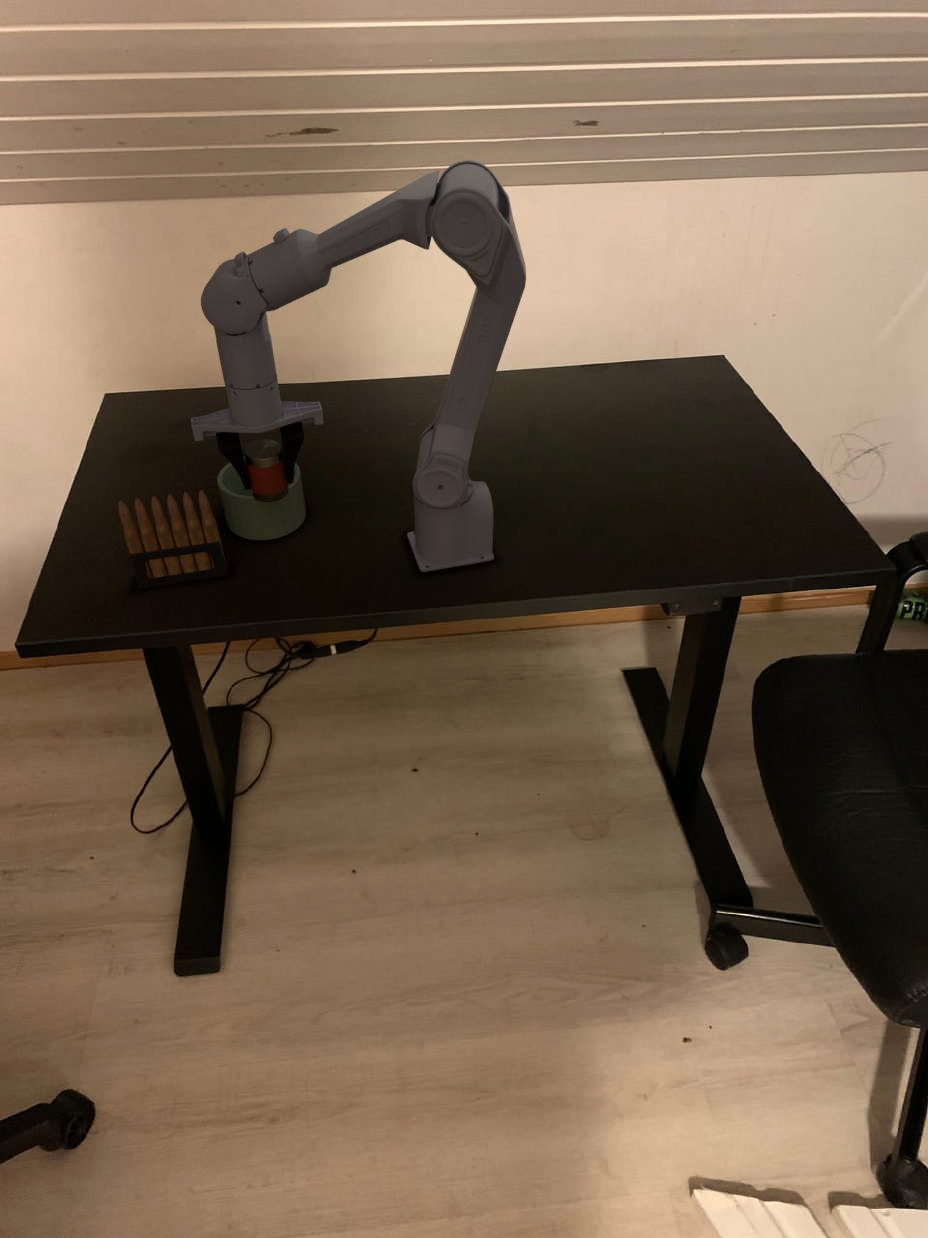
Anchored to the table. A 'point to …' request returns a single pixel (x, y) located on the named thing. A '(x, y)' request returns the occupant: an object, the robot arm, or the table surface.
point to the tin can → (266, 470)
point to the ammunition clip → (173, 543)
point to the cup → (260, 507)
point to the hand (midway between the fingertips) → (268, 482)
